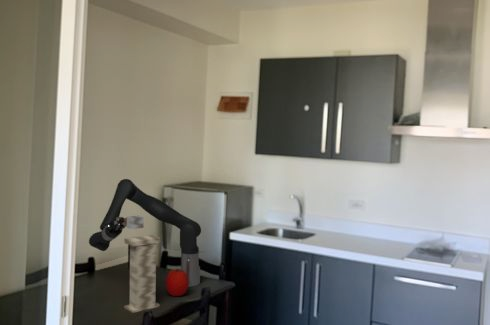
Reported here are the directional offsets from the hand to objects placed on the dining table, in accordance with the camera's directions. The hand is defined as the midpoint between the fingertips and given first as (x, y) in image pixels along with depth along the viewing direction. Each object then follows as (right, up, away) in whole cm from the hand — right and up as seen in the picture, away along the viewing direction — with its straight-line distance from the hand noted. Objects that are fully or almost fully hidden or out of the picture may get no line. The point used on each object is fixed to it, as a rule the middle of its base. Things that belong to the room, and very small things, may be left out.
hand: (126, 218), depth 248 cm
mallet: (+1, -3, -1) cm, 3 cm away
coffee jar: (-6, -35, +53) cm, 64 cm away
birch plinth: (+10, -40, -10) cm, 42 cm away
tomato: (+23, -39, +8) cm, 46 cm away
